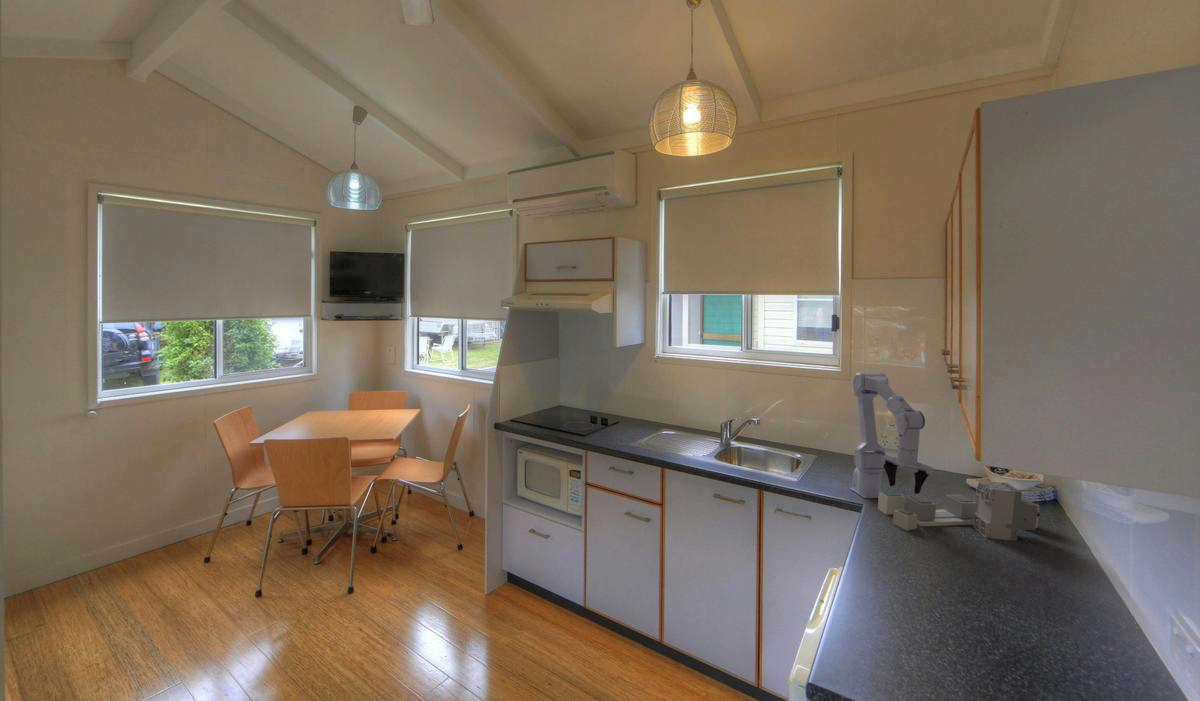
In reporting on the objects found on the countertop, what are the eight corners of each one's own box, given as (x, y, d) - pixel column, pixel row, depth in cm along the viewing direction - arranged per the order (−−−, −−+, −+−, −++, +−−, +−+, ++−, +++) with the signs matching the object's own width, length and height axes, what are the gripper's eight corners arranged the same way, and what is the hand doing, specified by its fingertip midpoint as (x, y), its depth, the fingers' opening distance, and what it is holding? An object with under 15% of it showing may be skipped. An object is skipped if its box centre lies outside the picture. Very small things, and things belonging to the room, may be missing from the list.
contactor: (892, 524, 165) (893, 509, 164) (901, 522, 166) (903, 507, 166) (907, 530, 160) (908, 515, 160) (916, 528, 162) (917, 513, 161)
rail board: (901, 514, 172) (902, 494, 171) (957, 512, 174) (958, 492, 174) (920, 526, 163) (922, 505, 163) (979, 524, 165) (981, 503, 165)
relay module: (877, 509, 176) (879, 491, 176) (894, 508, 177) (895, 490, 176) (886, 514, 172) (887, 496, 171) (903, 514, 173) (904, 495, 172)
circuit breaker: (1040, 543, 153) (1045, 493, 152) (985, 537, 156) (990, 489, 154) (1025, 531, 160) (1030, 484, 159) (973, 527, 163) (977, 480, 162)
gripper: (878, 444, 171) (875, 484, 172) (926, 456, 159) (923, 499, 161) (889, 441, 175) (886, 480, 176) (937, 452, 163) (933, 494, 165)
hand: (904, 489), depth 169 cm, fingers open, 7 cm apart
